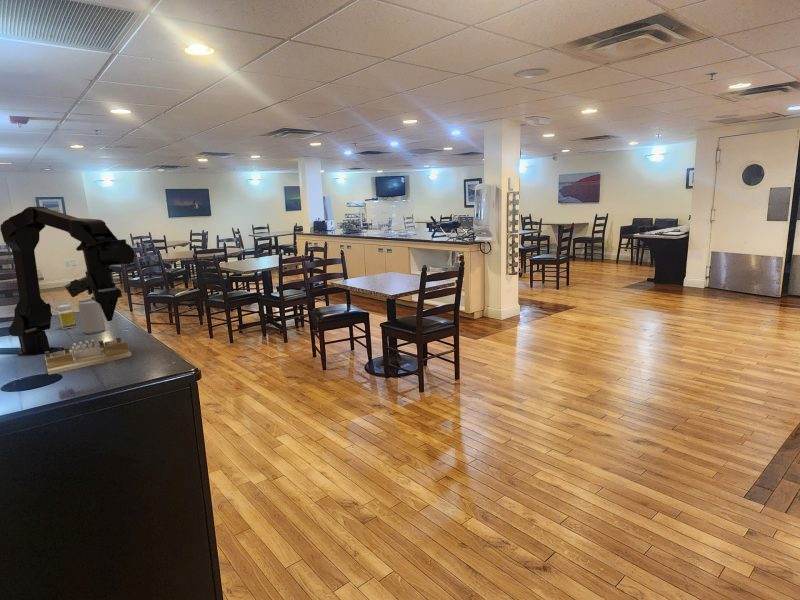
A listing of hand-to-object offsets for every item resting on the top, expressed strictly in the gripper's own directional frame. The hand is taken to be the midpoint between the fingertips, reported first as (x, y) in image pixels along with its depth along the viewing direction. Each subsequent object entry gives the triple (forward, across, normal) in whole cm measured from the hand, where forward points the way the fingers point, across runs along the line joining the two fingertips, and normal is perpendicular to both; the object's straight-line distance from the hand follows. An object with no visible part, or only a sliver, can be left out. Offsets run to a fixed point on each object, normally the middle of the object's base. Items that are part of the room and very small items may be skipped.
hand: (109, 320), depth 135 cm
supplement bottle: (+10, -56, -7) cm, 58 cm away
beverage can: (+10, -39, -1) cm, 40 cm away
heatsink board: (+10, -3, -7) cm, 12 cm away
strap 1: (+8, -3, -13) cm, 16 cm away
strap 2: (+8, -3, 0) cm, 9 cm away
